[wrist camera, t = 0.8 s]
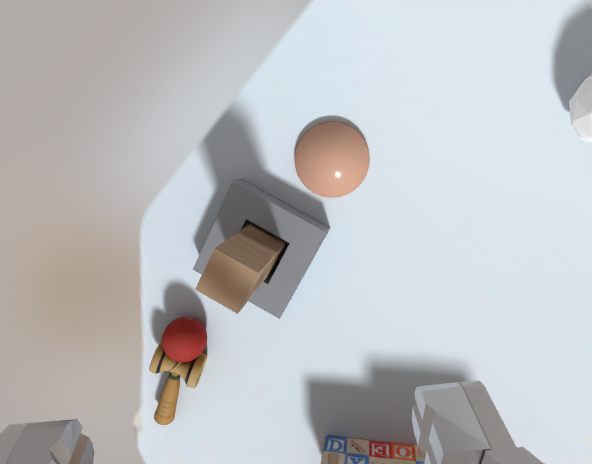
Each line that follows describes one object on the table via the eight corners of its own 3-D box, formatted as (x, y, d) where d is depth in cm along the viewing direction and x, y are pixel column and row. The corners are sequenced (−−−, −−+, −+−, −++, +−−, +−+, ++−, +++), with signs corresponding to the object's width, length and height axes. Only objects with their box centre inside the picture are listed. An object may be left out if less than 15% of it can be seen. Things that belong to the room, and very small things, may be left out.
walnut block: (255, 220, 54) (214, 248, 41) (288, 239, 54) (258, 273, 40) (239, 252, 55) (195, 289, 42) (271, 270, 55) (237, 313, 42)
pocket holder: (241, 179, 53) (233, 181, 50) (330, 228, 52) (327, 233, 49) (202, 262, 57) (192, 269, 54) (284, 309, 56) (279, 318, 53)
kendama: (200, 415, 64) (225, 325, 57) (173, 445, 59) (198, 350, 52) (161, 390, 66) (180, 300, 59) (131, 416, 61) (149, 321, 54)
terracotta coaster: (305, 114, 50) (304, 113, 49) (378, 131, 49) (378, 131, 48) (288, 186, 52) (287, 187, 52) (358, 204, 51) (357, 205, 50)
